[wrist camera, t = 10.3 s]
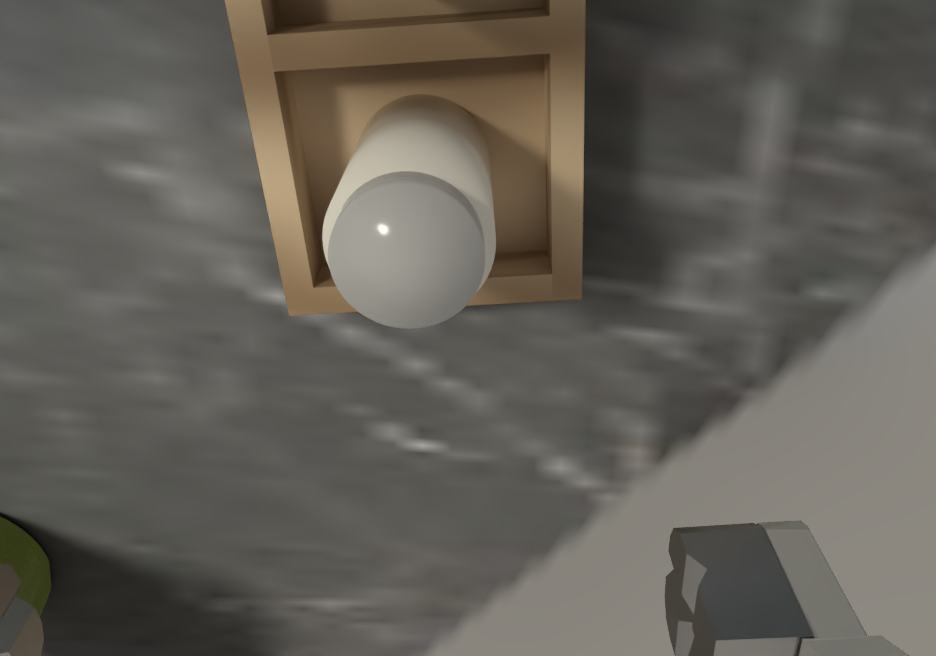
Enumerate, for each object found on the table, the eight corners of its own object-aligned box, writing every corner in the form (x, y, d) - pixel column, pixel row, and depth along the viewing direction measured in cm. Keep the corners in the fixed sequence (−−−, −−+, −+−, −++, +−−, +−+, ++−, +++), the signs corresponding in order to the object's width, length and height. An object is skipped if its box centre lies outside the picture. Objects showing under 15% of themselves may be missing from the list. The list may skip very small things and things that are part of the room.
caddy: (197, -298, 20) (157, -328, 18) (574, -329, 20) (590, -364, 17) (305, 277, 28) (289, 315, 26) (571, 262, 28) (581, 299, 26)
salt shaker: (348, 98, 24) (301, 178, 17) (485, 89, 24) (493, 166, 17) (366, 226, 26) (330, 343, 19) (492, 219, 26) (501, 334, 19)
